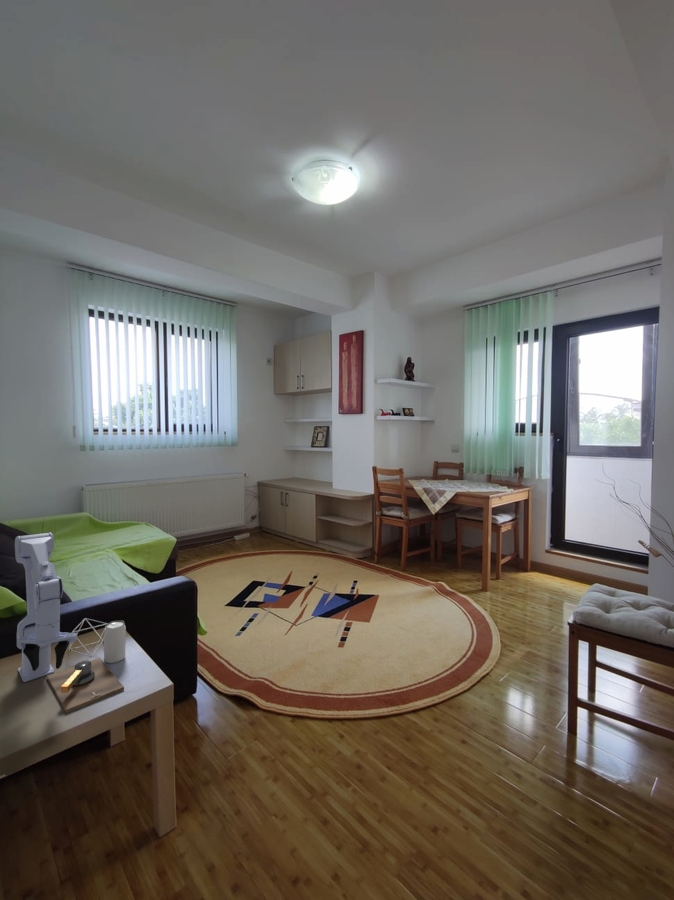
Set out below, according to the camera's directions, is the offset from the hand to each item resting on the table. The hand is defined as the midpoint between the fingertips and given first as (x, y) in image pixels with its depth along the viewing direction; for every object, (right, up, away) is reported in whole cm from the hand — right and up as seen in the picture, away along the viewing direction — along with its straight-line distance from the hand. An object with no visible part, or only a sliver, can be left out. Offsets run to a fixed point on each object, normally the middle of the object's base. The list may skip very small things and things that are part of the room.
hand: (47, 667), depth 118 cm
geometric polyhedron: (-5, -9, +28) cm, 30 cm away
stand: (+6, -9, +8) cm, 14 cm away
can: (+7, -9, +23) cm, 25 cm away
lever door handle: (+5, -8, +5) cm, 11 cm away
